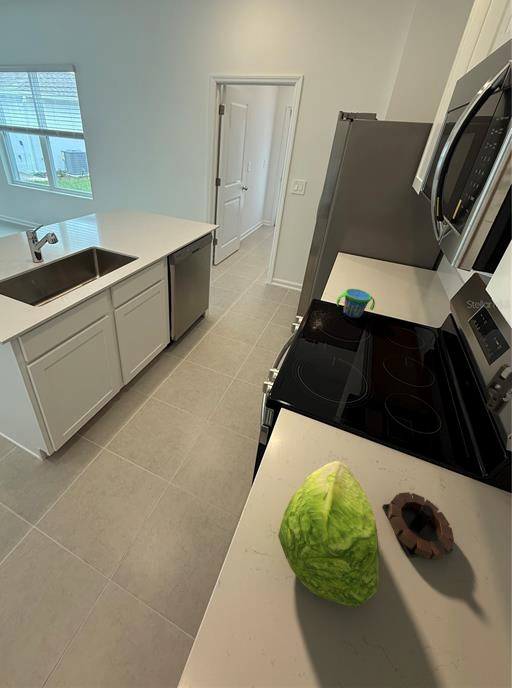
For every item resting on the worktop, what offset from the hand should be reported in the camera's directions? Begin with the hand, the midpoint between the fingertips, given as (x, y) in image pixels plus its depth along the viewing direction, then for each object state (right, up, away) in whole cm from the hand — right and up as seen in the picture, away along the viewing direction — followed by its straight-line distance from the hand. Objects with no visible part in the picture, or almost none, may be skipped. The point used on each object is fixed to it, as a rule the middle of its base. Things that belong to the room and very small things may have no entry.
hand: (511, 409), depth 58 cm
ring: (-15, -25, +5) cm, 30 cm away
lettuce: (-33, -26, +4) cm, 43 cm away
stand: (-15, -26, +5) cm, 31 cm away
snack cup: (+3, +15, +79) cm, 81 cm away
